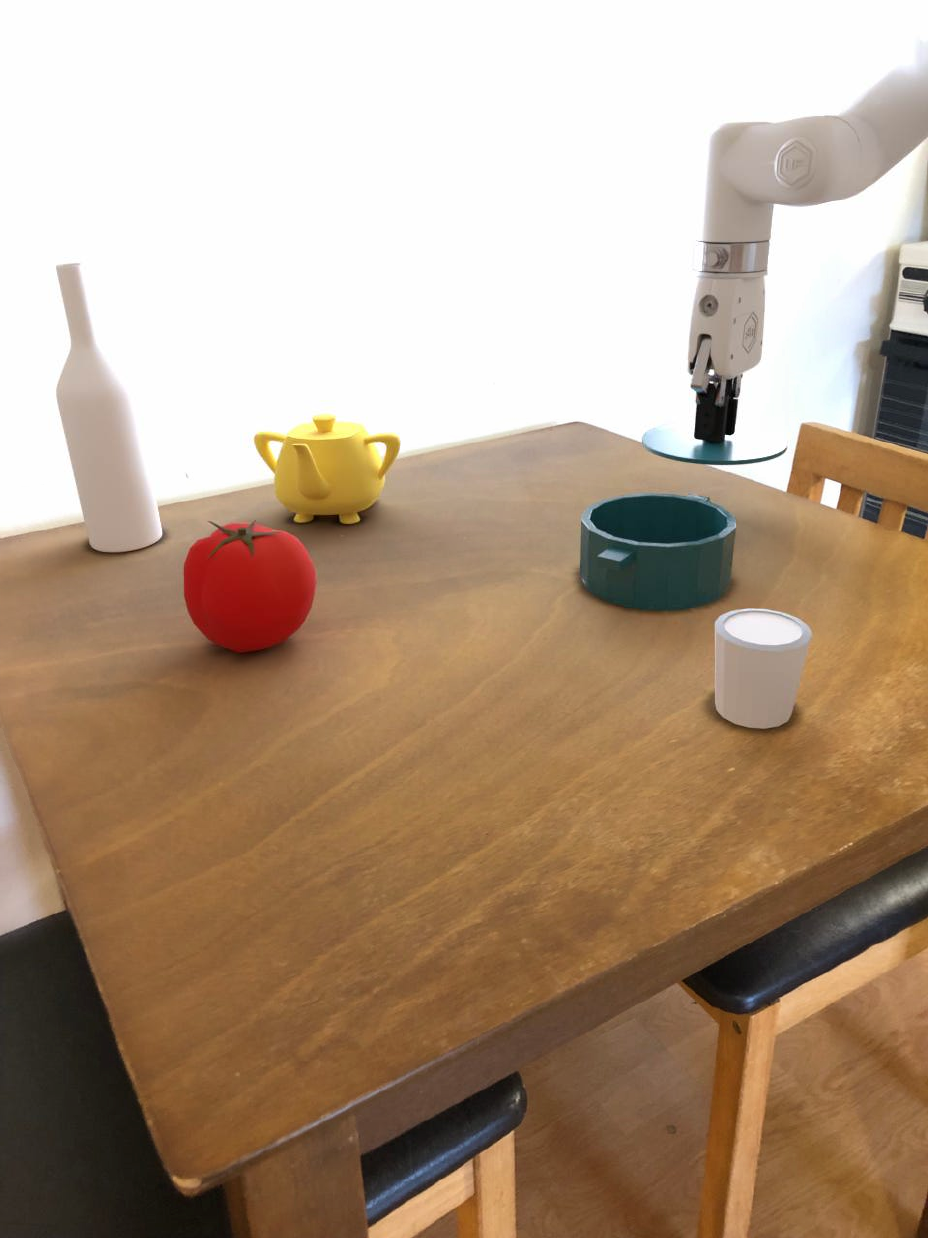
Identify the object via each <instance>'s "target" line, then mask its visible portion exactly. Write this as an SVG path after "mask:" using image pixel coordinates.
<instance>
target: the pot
mask: <svg viewBox="0 0 928 1238" xmlns="http://www.w3.org/2000/svg"><path fill="white" fill-rule="evenodd" d="M736 520H737V517H736V516H735V515H734V514H732V513H731V512H730V511H729V510H727V509H726V508H725V507H724V506H722V505H719V504H716V503H713V502H711V497H707V496H701V495H696V494H691V493H688V494H687V495H681V494H672V493H671V494H670V493H654V492H653V493H650V492H644V493H634V494H633V493H632V494H623V495H618V496H614V497H610V498H606V499H601V500H598V501H597V502H594V503H593V504H592V505H590V506H588V507H586V508H585V509H584V511H583V513H582V516H581V519H580V550H579V576H580V581H581V583H582V584H581V585H582V586H583V587H584V588H585V589H586V590H587V591H588V592H589V593H590V594H591V595H593V596H594V597H597V598H598V599H601V600H602V601H605V602H607V603H610V604H612V605H613V604H614V605H617V606H621V607H624V608H628V609H635V610H641V611H642V610H644V611H655V612H657V611H658V612H661V611H662V612H663V611H664V612H669V611H670V612H671V611H682V610H683V611H685V610H690V609H694V608H700V607H703V606H707V605H709V604H712V603H714V602H715V601H718V600H720V598H722V597H724V596H725V595H726V594H727V592H728V590H729V588H730V586H731V579H732V570H733V561H734V551H735V543H736V534H737V533H736V532H737V521H736Z"/></svg>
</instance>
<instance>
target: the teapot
mask: <svg viewBox="0 0 928 1238" xmlns="http://www.w3.org/2000/svg"><path fill="white" fill-rule="evenodd" d="M311 419H312V422H306V423H301V424H298V425H296V426H294V427H293V428H292V429H290V430H289V431H288V433H287V434H284V433H280V432H275V431H266V430H262V431H259V432H257V433H256V434H255V435H254V437H253V443H254V446H255V449H256V451H257V453H258V455H259V456H260V458H261V459H262V460H263V462H264V463H265V464H266V465H267V467H268V468H269V469H270V470H271V472H272V473H273V474H274V476H273V477H274V479H273V480H274V481H273V488H274V494H275V497H276V499H277V500H278V501H279V503H280V504H281V505H282V506H283V507H284V508H285V509H286V510H288V511H289V512H293V513H296V514H295V516H294V518H293V521H294V522H295V523H308V522H312V521H313V520H314V517H315V516H318V515H319V516H331V515H332V516H333V515H338V518H339V522H340V523H342V524H347V525H348V524H349V525H351V524H355V523H358V522H360V520H361V518H360V516H359V514H358V513H359V512H363V511H365V510H367V509H369V508H370V507H371V506H373V505H374V503H376V502H377V499H378V498H379V496H380V495H381V493H382V491H383V490H384V488H385V483H386V474H387V472H388V471H389V470H390V469H391V467H392V465H393V464H394V462H395V461H396V459H397V457H398V455H399V452H400V450H401V438H400V437H399V435H397V434H395V433H392V432H383V433H375V434H369V432H368V431H367V430H366V428H365V426H363V425H362V424H361V423H359V422H354V421H353V422H351V421H336V415H334V414H331V413H322V414H317V415H314V416H313V417H312V418H311ZM270 442H277V443H282V445H281V448H280V450H279V454H278V457H277V458H276V457H275V455H274V453H273V451H272V449H271V447H270ZM375 443H382V444H384V445H385V453H384V457H383V460H382V458H381V454H380V451H378V449H377V447H376V444H375Z"/></svg>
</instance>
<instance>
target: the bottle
mask: <svg viewBox="0 0 928 1238" xmlns="http://www.w3.org/2000/svg"><path fill="white" fill-rule="evenodd" d="M55 270H56V275H57V279H58V284H59V289H60V293H61V299H62V303H63V307H64V312H65V317H66V321H67V327H68V332H69V337H70V349H69V352H68V355H67V357H66V360H65V363H64V365H63V368H62V370H61V372H60V375H59V378H58V381H57V384H56V388H55V394H56V395H55V397H56V402H57V407H58V412H59V415H60V420H61V426H62V429H63V433H64V438H65V442H66V446H67V451H68V456H69V459H70V464H71V468H72V469H71V470H72V473H73V478H74V482H75V485H76V490H77V495H78V499H79V504H80V507H81V513H82V516H83V521H84V525H85V529H86V533H87V537H88V542H89V545H90V547H91V548H92V549H94V550H95V551H98V552H103V553H125V552H130V551H131V552H132V551H136V550H141V549H143V548H147V547H150V546H151V545H154V544H155V543H157V542H158V541H159V540H160V539H161V538H162V536H163V529H162V523H161V519H160V513H159V507H158V502H157V497H156V491H155V486H154V481H153V477H152V471H151V465H150V460H149V455H148V450H147V444H146V440H145V439H146V438H145V434H144V428H143V424H142V423H143V422H142V418H141V414H140V407H139V402H138V397H137V394H136V393H137V392H136V388H135V385H134V383H133V381H132V379H131V378H130V376H129V375H128V373H127V372H126V371H125V370H124V369H123V367H121V365H120V364H119V362H117V361H116V360H115V359H114V358H113V356H112V355H111V354H110V353H109V352H108V351H107V349H106V348H105V347H104V346H103V344H102V343H101V341H100V338H99V334H98V330H97V325H96V321H95V316H94V312H93V307H92V301H91V298H90V296H91V295H90V292H89V287H88V281H87V278H86V272H85V268H84V265H83V263H81V262H79V263H78V262H75V263H74V262H73V263H61V264H57V265H55Z"/></svg>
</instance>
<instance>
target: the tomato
mask: <svg viewBox="0 0 928 1238" xmlns="http://www.w3.org/2000/svg"><path fill="white" fill-rule="evenodd" d="M256 521H257V519H255V520H253V521H252V522H250V523H249V522H230V523H227V524H225V525H222V526H221V525H220V524H217V523H215V522H213V521H212V520H211V521H210V520H207V522H208V523H210V524H211V525H213V526H214V527H216V528H217V529H215V530H214V531H212V532H211V534H210V535H209V536H207V537H203V538H200V539H197V540H196V541H195V542H194V543H193V544H192V545H191V547H190V548H189V549H188V552H187V555H186V556H185V557H186V558H185V560H184V562H183V598H184V602H185V605H186V609H187V613H188V615H189V617H190V619H191V621H192V623H193V624H194V626H195V627H196V628H197V629H198V630H199V631H200V632H201V634H202V635H203V636H204V637H205V638H206V639H207V640H208V641H210V642H212V643H213V644H215V645H217V646H219V647H222V648H225V649H227V650H230V651H233V652H236V653H239V654H240V653H241V654H242V653H249V652H254V651H259V650H265V649H269V648H271V647H273V646H276V645H278V644H280V643H283V642H285V641H286V640H287V639H289V638H290V637H291V636H293V634H294V633H296V632H297V631H298V630H299V629H300V628H301V627H302V625H303V624H304V622H306V620H307V618H308V615H309V614H310V612H311V609H312V608H313V603H314V599H315V594H316V587H317V575H316V569H315V564H314V563H313V560H312V558H311V556H310V554H309V552H308V550H307V548H306V547H305V545H304V544H303V543H302V541H300V540H299V538H298V537H297V536H296V535H293V534H291V533H289V532H287V531H286V530H282V529H281V530H278V529H277V530H274V529H273V528H271V527H268V526H264V525H260V524H256Z"/></svg>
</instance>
